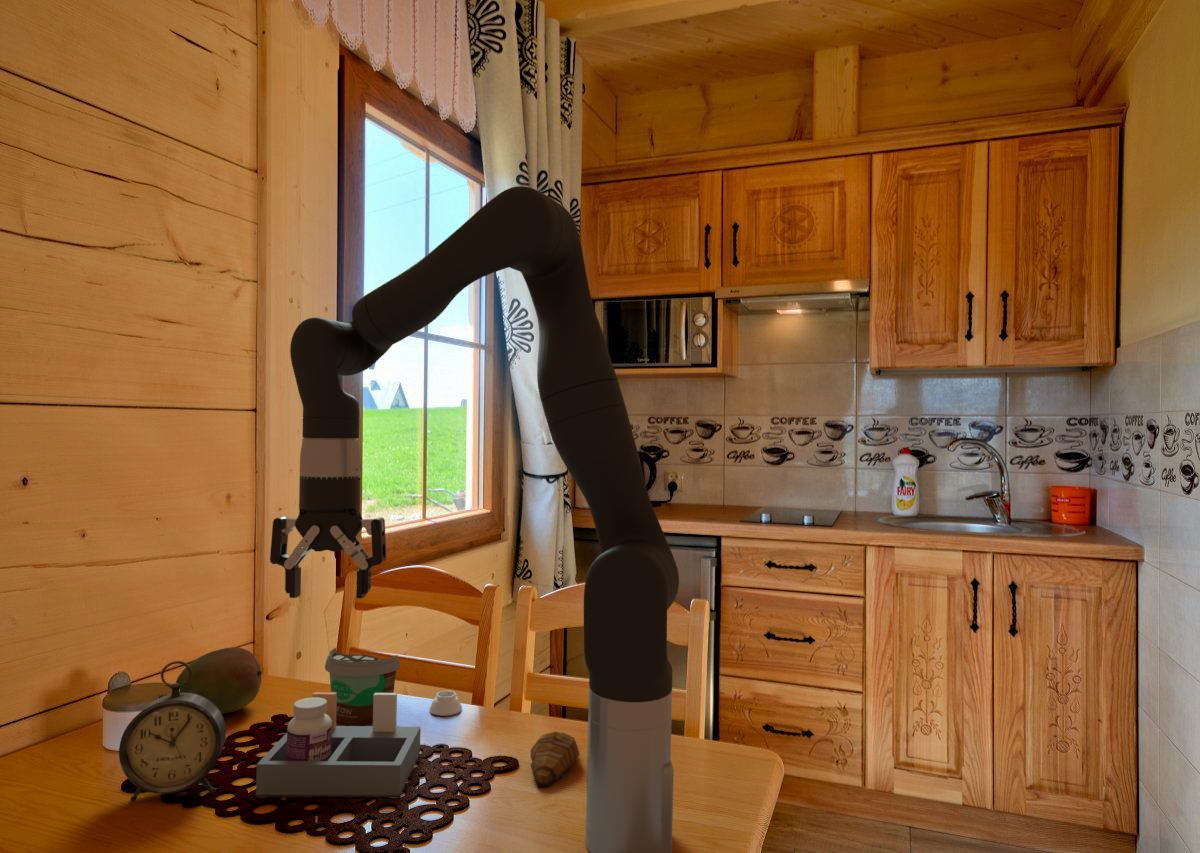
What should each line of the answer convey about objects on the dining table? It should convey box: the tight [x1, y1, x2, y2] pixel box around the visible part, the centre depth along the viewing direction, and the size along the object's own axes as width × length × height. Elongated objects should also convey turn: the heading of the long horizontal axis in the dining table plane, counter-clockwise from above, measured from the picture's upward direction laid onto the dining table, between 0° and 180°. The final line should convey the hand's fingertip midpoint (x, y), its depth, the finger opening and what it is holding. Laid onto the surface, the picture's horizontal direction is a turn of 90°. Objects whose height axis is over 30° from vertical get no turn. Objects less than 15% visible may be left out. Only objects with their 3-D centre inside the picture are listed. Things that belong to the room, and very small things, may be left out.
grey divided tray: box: [255, 691, 421, 799], centre depth 98 cm, size 17×12×9 cm
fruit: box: [175, 646, 263, 715], centre depth 118 cm, size 12×12×10 cm
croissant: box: [530, 731, 580, 788], centre depth 102 cm, size 14×7×5 cm, turn 170°
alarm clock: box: [118, 660, 227, 802], centre depth 92 cm, size 11×5×16 cm, turn 105°
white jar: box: [429, 690, 463, 717], centre depth 121 cm, size 5×3×5 cm
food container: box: [324, 647, 401, 726], centre depth 116 cm, size 12×6×10 cm, turn 73°
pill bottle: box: [286, 696, 332, 761], centre depth 96 cm, size 5×5×10 cm
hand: (328, 597), depth 98 cm, fingers open, 8 cm apart
